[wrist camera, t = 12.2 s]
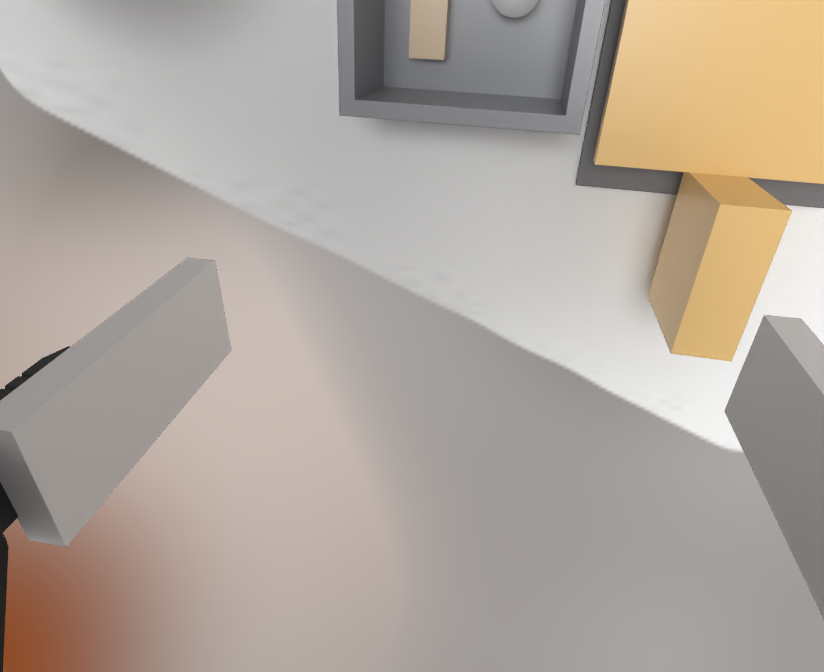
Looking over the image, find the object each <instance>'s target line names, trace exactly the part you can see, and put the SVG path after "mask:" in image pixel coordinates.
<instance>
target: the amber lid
mask: <svg viewBox="0 0 824 672" xmlns="http://www.w3.org/2000/svg"><path fill="white" fill-rule="evenodd" d="M593 161H594V164H595V165H607V166H619V167H630V168H642V169H654V170H666V171H677V172H684V173H683V177H682V180H681V184H680V187H679V190H678V194H677V197H676V201H675V204H674V208H673V211H672V215H671V218H670V222H669V225H668V228H667V232H666V235H665V239H664V242H663V246H662V249H661V253H660V256H659V260H658V263H657V267H656V270H655V273H654V277H653V280H652V284H651V287H650V291H649V294H648V298H649V300H650V303H651V305H652V308H653V310H654V313H655V315H656V318H657V320H658V323H659V325H660V328H661V330H662V333H663V335H664V338H665V340H666V343H667V345H668V348H669V350H670V353H671V354H679V355H687V356H694V357H702V358H709V359H717V360H725V361H732V359H733V356H734V354H735V351H736V349H737V346H738V344H739V342H740V339H741V337H742V334H743V332H744V329H745V327H746V324H747V322H748V319H749V317H750V314H751V312H752V309H753V307H754V304H755V302H756V299H757V297H758V294H759V292H760V289H761V287H762V284H763V282H764V279H765V277H766V274H767V272H768V269H769V267H770V264H771V262H772V259H773V257H774V254H775V252H776V250H777V247H778V245H779V242H780V240H781V237H782V235H783V232H784V230H785V227H786V225H787V222H788V220H789V217H790V215H791V212H792V210H790V209H789V208H788V207H786V206H785V205H784V204H782V203H781V202H780V201H778V200H777V199H776V198H774V197H773V196H772V195H770V194H769V193H768V192H766V191H765V190H764V189H762V188H761V187H760V186H759V185H757V184H756V183H755V182H753V181H752V180H751V179H749V178H759V179H771V180H783V181H795V182H806V183H818V184H824V0H626V3H625V8H624V13H623V17H622V22H621V27H620V32H619V37H618V42H617V47H616V52H615V57H614V61H613V66H612V71H611V76H610V81H609V86H608V91H607V96H606V101H605V106H604V110H603V115H602V120H601V125H600V130H599V135H598V140H597V145H596V150H595V154H594V159H593Z"/></svg>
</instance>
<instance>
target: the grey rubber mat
mask: <svg viewBox="0 0 824 672" xmlns="http://www.w3.org/2000/svg"><path fill="white" fill-rule="evenodd" d="M625 3H626V0H611V5H610V10H609V15H608V20H607V25H606V30H605V35H604V41H603V46H602V51H601V56H600V61H599V66H598V71H597V76H596V82H595V87H594V92H593V97H592V102H591V107H590V112H589V117H588V123H587V128H586V133H585V138H584V143H583V148H582V153H581V158H580V164H579V169H578V174H577V179H576V185H582V186H592V187H603V188H614V189H625V190H635V191H646V192H657V193H667V194H678V190H679V187H680V184H681V180H682V177H683V173H684V172H677V171H666V170H654V169H642V168H630V167H619V166H607V165H595V164H594V161H593V159H594V154H595V150H596V145H597V140H598V135H599V130H600V125H601V120H602V115H603V110H604V106H605V101H606V96H607V91H608V86H609V81H610V76H611V71H612V66H613V61H614V57H615V52H616V47H617V42H618V37H619V32H620V27H621V22H622V17H623V13H624V8H625ZM749 179H751V180H752V181H753V182H755V183H756V184H757V185H759V186H760V187H761V188H762V189H764V190H765V191H766V192H768V193H769V194H770V195H772V196H773V197H774V198H776V199H777V200H778V201H780V202H781V203H782V204H785V205H796V206H806V207H817V208H824V184H818V183H806V182H795V181H783V180H771V179H759V178H749Z"/></svg>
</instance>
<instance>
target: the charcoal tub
mask: <svg viewBox="0 0 824 672" xmlns="http://www.w3.org/2000/svg"><path fill="white" fill-rule="evenodd" d="M604 4H605V0H337V18H338V65H339V112H340V115H341V116H353V117H366V118H378V119H391V120H403V121H415V122H428V123H440V124H453V125H465V126H477V127H490V128H502V129H515V130H527V131H539V132H552V133H564V134H577V135H580V130H581V125H582V120H583V114H584V109H585V104H586V99H587V93H588V88H589V83H590V78H591V72H592V67H593V62H594V57H595V51H596V46H597V41H598V36H599V30H600V25H601V20H602V15H603V9H604Z"/></svg>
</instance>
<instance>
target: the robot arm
mask: <svg viewBox="0 0 824 672" xmlns="http://www.w3.org/2000/svg"><path fill="white" fill-rule="evenodd" d="M230 351H231V346H230V340H229V335H228V330H227V324H226V318H225V312H224V307H223V301H222V296H221V290H220V285H219V279H218V274H217V268H216V262H215V261H214V260H206V259H196V258H186V259H185V260H184V261H182V262H181V263H180V264H179V265H177V266H176V267H175V268H173V269H172V270H171V271H169V272H168V273H167V274H165V275H164V276H163V277H161V278H160V279H159V280H158V281H156V282H155V283H154V284H152V285H151V286H150V287H148V288H147V289H146V290H145V291H143V292H142V293H141V294H139V295H138V296H137V297H135V298H134V299H133V300H131V301H130V302H129V303H128V304H126V305H125V306H123V307H122V308H121V309H120V310H118V311H117V312H116V313H115V314H113V315H112V316H110V317H109V318H108V319H107V320H105V321H104V322H103V323H101V324H100V325H99V326H97V327H96V328H95V329H93V330H92V331H91V332H90V333H88V334H87V335H86V336H84V337H83V338H82V339H80V340H79V341H78V342H76V343H75V344H74V345H72V346H71V347H69V346H68V347H66V348H64V349H62V350H59V351H57V352H55V353H53V354H51V355H49V356H46V357H44V358H42V359H41V360H39V361H38V362H37V363H35V364H34V365H33V366H31V367H30V368H29V369H28V370H26V371H24V372H23V373H22V376H21V377H17V378H15V379H14V380H13V381H11V382H10V383H8V384H7V385H6V386H5V389H0V672H3V655H4V632H5V631H4V630H5V611H6V589H7V586H6V585H7V566H8V545H7V541H6V538H5V536H4V534H3V532H4V531H5V530H6V529H7V528H8V526H10V525H11V524H12V523H13V522H14V520H15V519H16V518H18V520H19V522H20V524H21V526H22V528H23V530H24V532H25V533H26V535H27V537H28V539H29V540H33V541H39V542H44V543H50V544H55V545H60V546H67V545H68V544H69V543H70V542H71V540H72V539H73V538H74V537H75V536H76V534H77V533H78V532H79V531H80V530H81V528H82V527H83V526H84V525H85V524H86V523H87V521H88V520H89V519H90V518H91V517H92V515H93V514H94V513H95V512H96V511H97V509H98V508H99V507H100V506H101V505H102V503H103V502H104V501H105V500H106V499H107V498H108V496H109V495H110V494H111V493H112V492H113V490H114V489H115V488H116V487H117V485H118V484H119V483H120V482H121V481H122V480H123V479H124V477H125V476H126V475H127V474H128V473H129V471H130V470H131V469H132V468H133V467H134V465H135V464H136V463H137V462H138V461H139V459H140V458H141V457H142V456H143V455H144V454H145V452H146V451H147V450H148V449H149V447H150V446H151V445H152V444H153V443H154V442H155V440H156V439H157V438H158V437H159V436H160V434H161V433H162V432H163V431H164V430H165V429H166V427H167V426H168V425H169V424H170V423H171V421H172V420H173V419H174V418H175V417H176V415H177V414H178V413H179V412H180V411H181V409H182V408H183V407H184V406H185V405H186V403H187V402H188V401H189V400H190V399H191V398H192V396H193V395H194V394H195V393H196V392H197V390H198V389H199V388H200V387H201V386H202V385H203V383H204V382H205V381H206V380H207V379H208V377H209V376H210V375H211V374H212V373H213V371H214V370H215V369H216V368H217V367H218V365H219V364H220V363H221V362H222V361H223V360H224V358H225V357H226V356H227V355H228V354H229V352H230ZM725 413H726V415H727V417H728V420H729V422H730V424H731V426H732V428H733V430H734V432H735V434H736V436H737V438H738V441H739V443H740V445H741V447H742V449H743V451H744V453H745V455H746V457H747V459H748V461H749V464H750V466H751V468H752V470H753V472H754V474H755V476H756V478H757V480H758V483H759V485H760V487H761V489H762V491H763V493H764V495H765V497H766V499H767V501H768V504H769V506H770V507H771V510H772V512H773V514H774V516H775V518H776V520H777V522H778V525H779V527H780V529H781V531H782V533H783V535H784V537H785V539H786V541H787V543H788V546H789V547H790V550H791V552H792V554H793V556H794V558H795V560H796V562H797V564H798V567H799V569H800V571H801V573H802V575H803V577H804V579H805V581H806V583H807V586H808V588H809V590H810V592H811V594H812V596H813V598H814V600H815V602H816V604H817V607H818V609H819V611H820V613H821V615H822V617H823V619H824V345H823V344H822V342H821V341H820V340H819V339H818V338H817V337H816V335H815V334H814V333H813V332H812V331H811V330H810V328H809V327H808V326H807V325H806V324H805V323H804V321H803V320H802V319H799V318H789V317H779V316H769V315H764V317H763V319H762V321H761V324H760V326H759V329H758V331H757V333H756V336H755V338H754V341H753V343H752V346H751V348H750V350H749V353H748V355H747V358H746V360H745V362H744V365H743V367H742V370H741V372H740V375H739V377H738V379H737V382H736V384H735V387H734V389H733V391H732V394H731V396H730V399H729V401H728V404H727V406H726V408H725Z"/></svg>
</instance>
